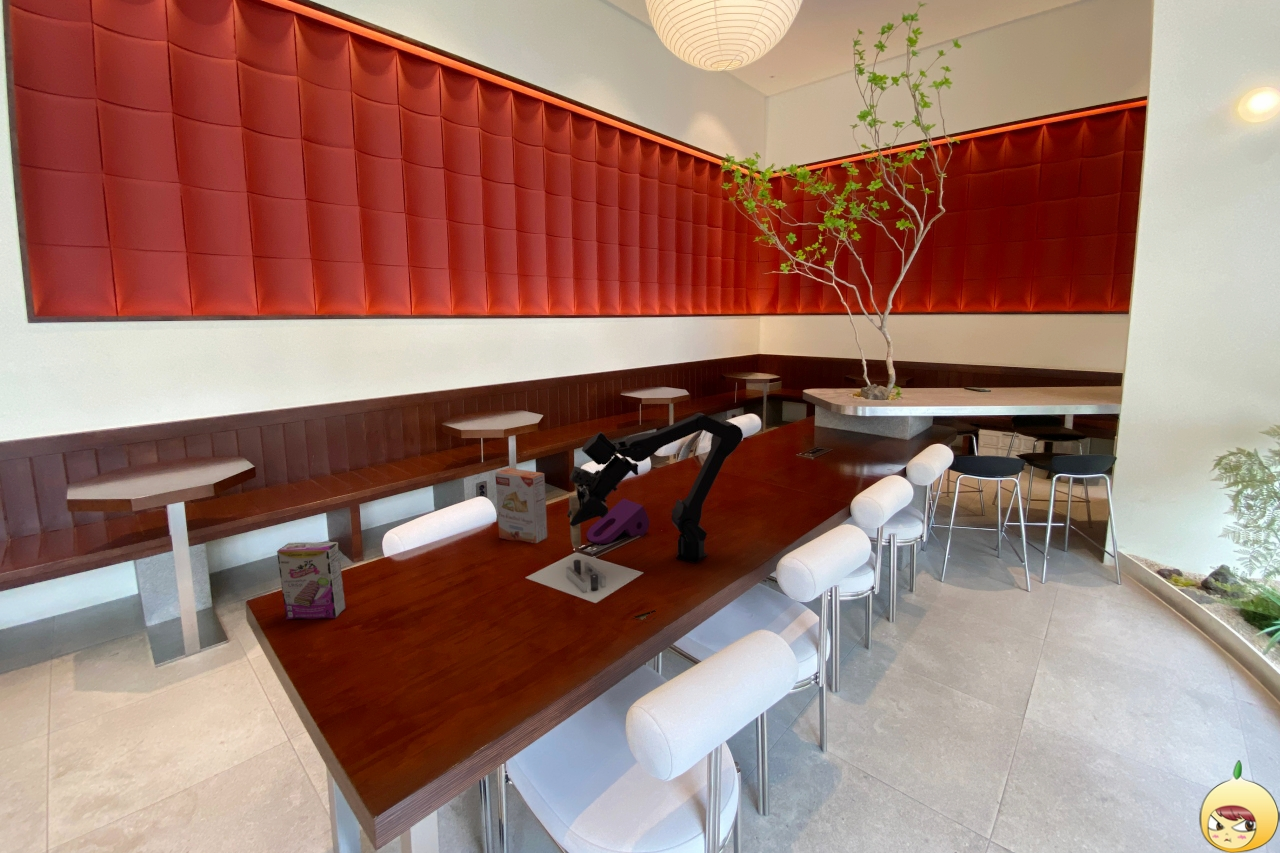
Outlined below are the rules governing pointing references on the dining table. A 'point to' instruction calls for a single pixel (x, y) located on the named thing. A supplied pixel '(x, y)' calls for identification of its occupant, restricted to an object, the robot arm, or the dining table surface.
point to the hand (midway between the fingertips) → (569, 520)
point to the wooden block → (572, 511)
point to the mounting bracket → (620, 523)
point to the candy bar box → (311, 580)
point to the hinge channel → (594, 574)
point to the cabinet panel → (584, 577)
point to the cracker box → (521, 505)
